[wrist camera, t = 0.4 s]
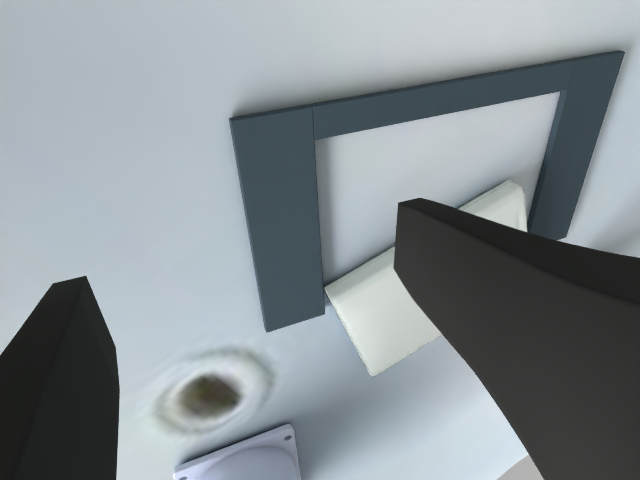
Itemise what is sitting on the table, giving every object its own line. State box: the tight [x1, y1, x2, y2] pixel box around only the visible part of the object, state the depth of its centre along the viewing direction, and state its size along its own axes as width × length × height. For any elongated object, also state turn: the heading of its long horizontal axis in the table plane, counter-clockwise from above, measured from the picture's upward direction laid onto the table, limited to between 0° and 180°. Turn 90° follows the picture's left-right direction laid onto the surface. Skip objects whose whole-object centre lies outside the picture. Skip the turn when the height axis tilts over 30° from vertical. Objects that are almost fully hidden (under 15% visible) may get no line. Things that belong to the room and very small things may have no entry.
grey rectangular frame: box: [229, 51, 625, 332], centre depth 24 cm, size 12×21×1 cm, turn 93°
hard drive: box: [324, 179, 527, 377], centre depth 27 cm, size 2×8×12 cm
